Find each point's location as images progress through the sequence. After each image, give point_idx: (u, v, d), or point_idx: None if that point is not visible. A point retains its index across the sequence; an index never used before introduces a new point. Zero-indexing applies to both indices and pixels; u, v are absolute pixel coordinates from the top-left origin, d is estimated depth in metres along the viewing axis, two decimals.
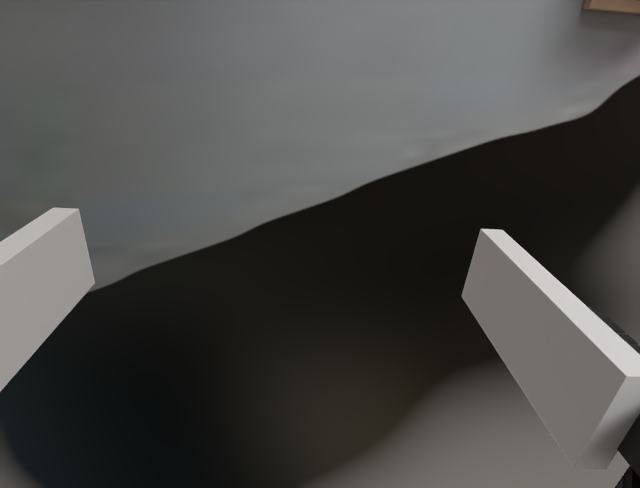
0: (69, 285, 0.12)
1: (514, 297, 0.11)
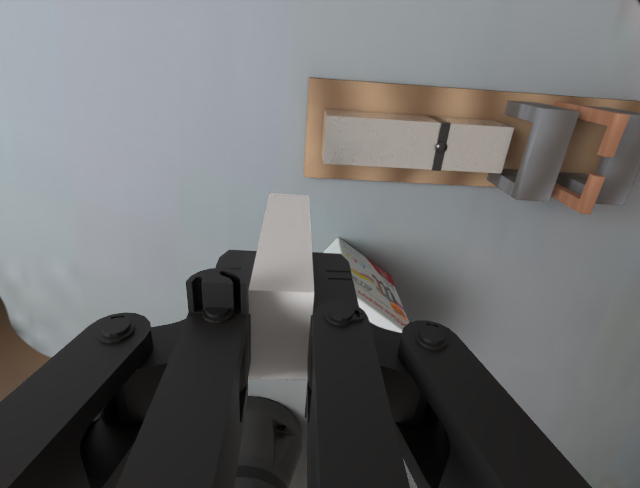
0: None
1: None
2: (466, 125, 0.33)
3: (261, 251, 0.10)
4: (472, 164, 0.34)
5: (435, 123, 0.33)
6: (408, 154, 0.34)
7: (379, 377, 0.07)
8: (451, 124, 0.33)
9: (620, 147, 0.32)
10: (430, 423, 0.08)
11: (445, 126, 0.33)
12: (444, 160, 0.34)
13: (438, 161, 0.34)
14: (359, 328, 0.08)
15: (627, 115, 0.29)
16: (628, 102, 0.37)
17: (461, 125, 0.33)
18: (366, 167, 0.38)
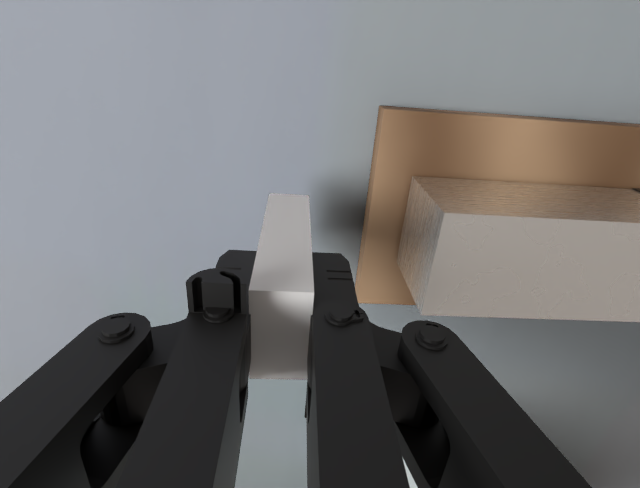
0: None
1: None
2: None
3: (261, 251, 0.10)
4: None
5: None
6: (622, 294, 0.14)
7: (379, 377, 0.07)
8: None
9: None
10: (430, 423, 0.08)
11: None
12: None
13: None
14: (359, 328, 0.08)
15: None
16: None
17: None
18: None
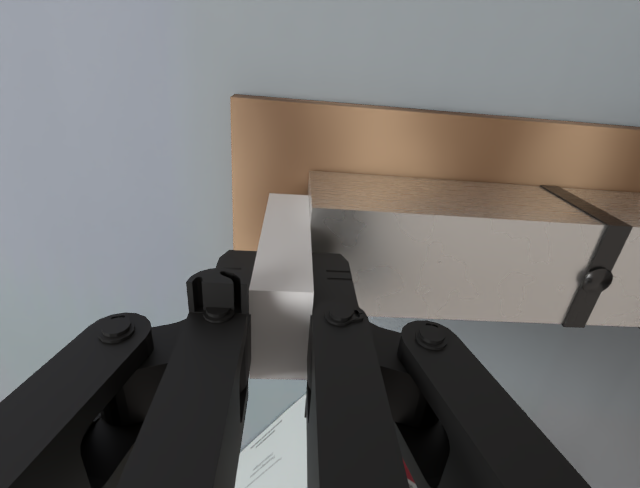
0: None
1: None
2: None
3: (261, 251, 0.10)
4: None
5: (592, 226, 0.13)
6: (512, 293, 0.14)
7: (378, 377, 0.07)
8: (632, 229, 0.13)
9: None
10: (430, 423, 0.08)
11: (617, 234, 0.13)
12: (595, 305, 0.14)
13: (582, 308, 0.14)
14: (358, 328, 0.08)
15: None
16: None
17: None
18: None
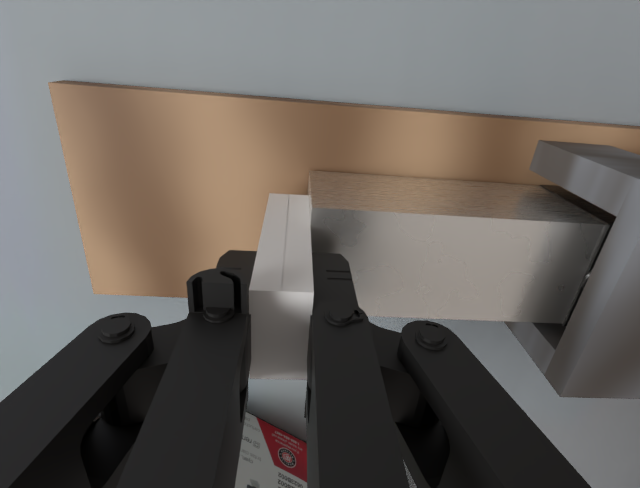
0: None
1: None
2: None
3: (261, 251, 0.10)
4: None
5: (592, 226, 0.13)
6: (512, 293, 0.14)
7: (379, 377, 0.07)
8: None
9: None
10: (430, 423, 0.08)
11: None
12: None
13: None
14: (359, 328, 0.08)
15: None
16: None
17: None
18: None
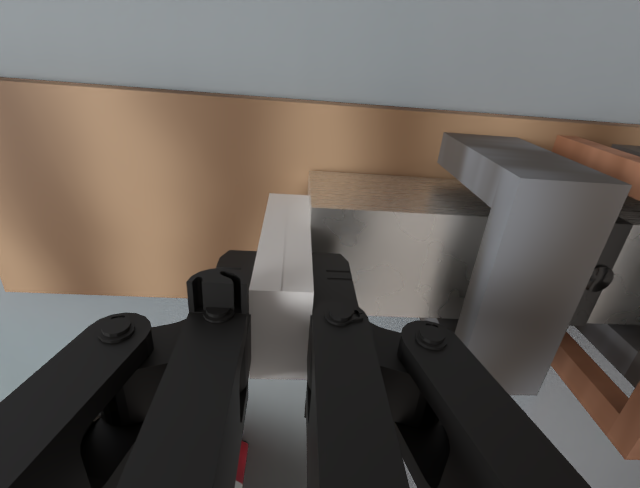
0: None
1: None
2: None
3: (261, 251, 0.10)
4: None
5: None
6: None
7: (379, 377, 0.07)
8: (633, 227, 0.13)
9: None
10: (430, 423, 0.08)
11: (618, 232, 0.13)
12: (596, 304, 0.14)
13: (583, 306, 0.14)
14: (359, 328, 0.08)
15: None
16: None
17: None
18: (139, 272, 0.17)
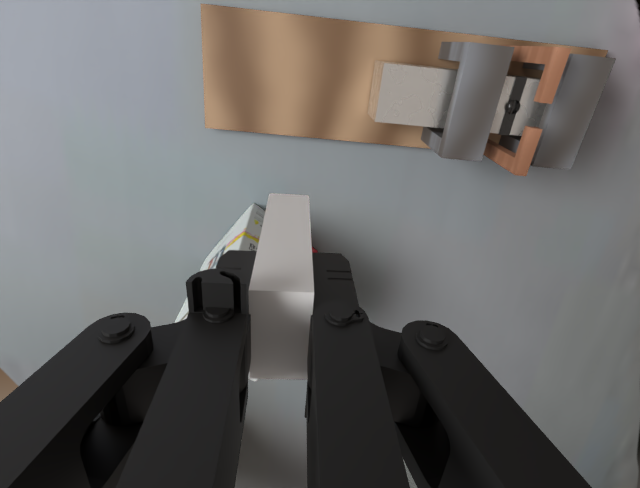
0: None
1: None
2: None
3: (261, 251, 0.10)
4: None
5: (509, 77, 0.28)
6: None
7: (379, 377, 0.07)
8: (527, 79, 0.28)
9: (566, 96, 0.27)
10: (430, 423, 0.08)
11: (520, 81, 0.28)
12: (514, 123, 0.29)
13: (507, 123, 0.29)
14: (359, 328, 0.08)
15: (567, 49, 0.23)
16: (586, 49, 0.31)
17: (539, 81, 0.28)
18: (278, 119, 0.33)
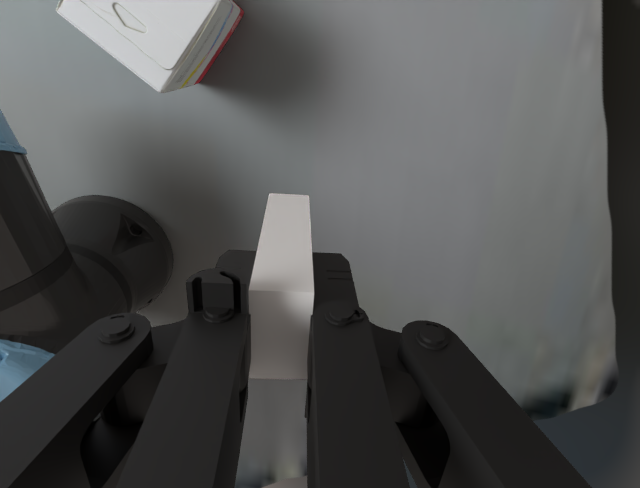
0: None
1: None
2: None
3: (261, 251, 0.10)
4: None
5: None
6: None
7: (379, 377, 0.07)
8: None
9: None
10: (430, 423, 0.08)
11: None
12: None
13: None
14: (359, 328, 0.08)
15: None
16: None
17: None
18: None
